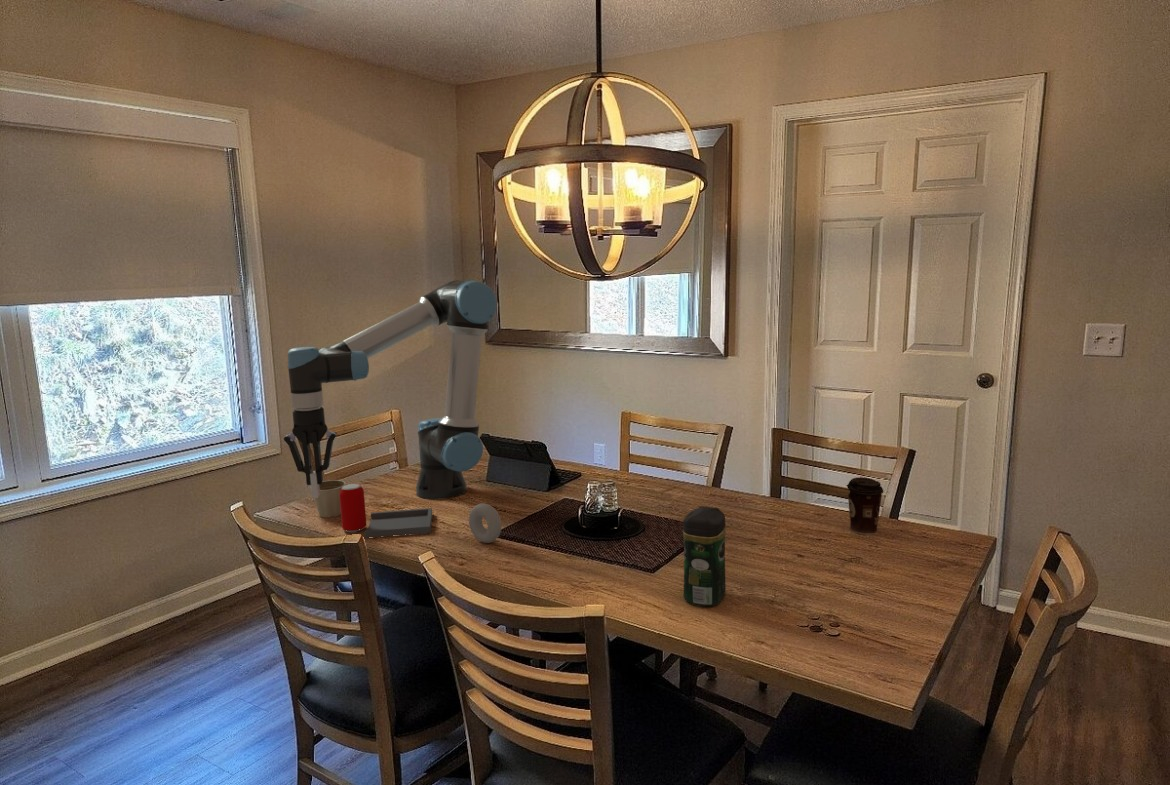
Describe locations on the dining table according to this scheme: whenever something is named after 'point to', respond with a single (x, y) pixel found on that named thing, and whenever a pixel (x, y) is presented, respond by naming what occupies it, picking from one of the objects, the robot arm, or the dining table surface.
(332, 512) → the flower pot
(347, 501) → the beverage can
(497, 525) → the donut
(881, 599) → the dining table surface
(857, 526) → the coffee cup
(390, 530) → the tray
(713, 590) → the coffee jar
